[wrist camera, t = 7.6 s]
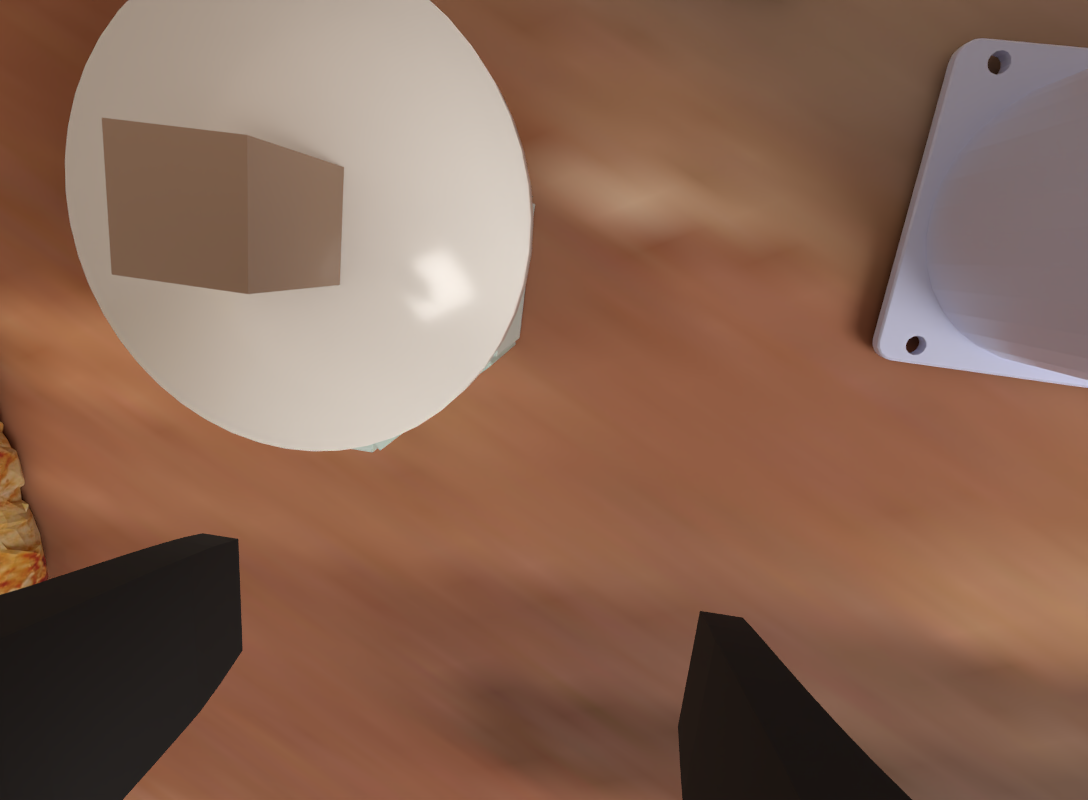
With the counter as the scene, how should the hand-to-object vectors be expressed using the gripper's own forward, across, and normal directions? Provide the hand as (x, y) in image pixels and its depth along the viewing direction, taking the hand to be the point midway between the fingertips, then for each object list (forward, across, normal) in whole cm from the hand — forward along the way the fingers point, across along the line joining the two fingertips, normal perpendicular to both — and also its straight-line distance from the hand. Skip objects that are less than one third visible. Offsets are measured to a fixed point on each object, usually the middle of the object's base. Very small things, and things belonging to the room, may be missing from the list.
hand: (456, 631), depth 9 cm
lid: (+6, +6, -6) cm, 10 cm away
